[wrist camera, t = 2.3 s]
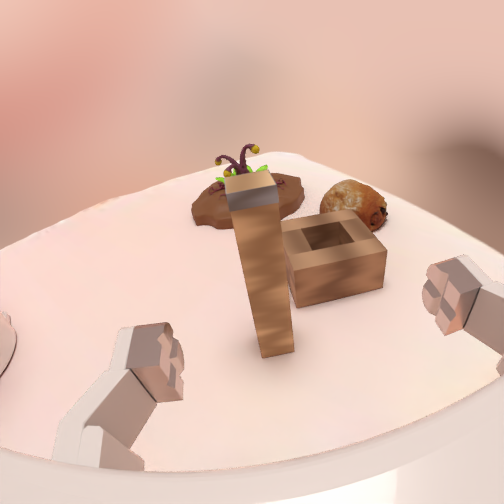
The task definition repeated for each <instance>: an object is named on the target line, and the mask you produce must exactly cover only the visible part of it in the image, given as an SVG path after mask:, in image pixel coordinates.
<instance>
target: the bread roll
mask: <svg viewBox="0 0 504 504" xmlns="http://www.w3.org/2000/svg"><path fill="white" fill-rule="evenodd" d="M384 199H385V198H384V197H382V196H381V195H380V194H379V193H378V192H376V191H375V190H373V188H371V187H370V186H368V185H363V184H362V183H359V182H357V181H355V180H351V179H348V180H344V181H341V182H339V183H337V184H335V185H334V186H333V187H332V188H331V189H330V190H329V191H328V192H327V193H326V194H325V195H324V197H323V199H322V201H321V204H320V214H323V213H329V212H334V211H340V210H346V209H351V210H352V211H353V212H354V213H355V214H356V215H357V216H358V217H359V218H360V219H361V221H362V222H363V223H364V224H365V225H366V226H367V227H368V228H369V230H370V231H374V230H376V229H378V228H379V227H380V226H381V225H382V223H383V222H384V220H385V218H386V216H387V215H388V213H387V212H386V206H387V204H386V202H385V201H384Z"/></svg>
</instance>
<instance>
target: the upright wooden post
mask: <svg viewBox="0 0 504 504" xmlns="http://www.w3.org/2000/svg"><path fill="white" fill-rule="evenodd" d="M224 183H225V191H226V197H227V202H228V207H229V212H231V217H232V222H233V227H234V231H235V236H236V241H237V245H238V250H239V255H240V259H241V264H242V269H243V273H244V278H245V283H246V287H247V292H248V296H249V301H250V305H251V310H252V315H253V319H254V324H255V328H256V333H257V337H258V341H259V346H260V350H261V355H262V358H266V357H271V356H276V355H281V354H286V353H290V352H294V342H293V331H292V321H291V310H290V301H289V291H288V281H287V272H286V263H285V254H284V246H283V237H282V229H281V221H280V213H279V205H278V203H279V198H278V190H277V184H276V182H275V181H274V179H273V177H272V175H271V174H270V172H269V170H263V171H257V172H252V173H246V174H241V175H236V176H231V177H226V178H224Z"/></svg>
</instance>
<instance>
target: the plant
mask: <svg viewBox="0 0 504 504" xmlns="http://www.w3.org/2000/svg"><path fill="white" fill-rule="evenodd" d="M247 148H249V149H250V150H251V152H252V153H255V154H257V153H259V147H258V146H256V145H255V144H248V145H245V146H244V147H243V149H242V152H241V154H240V164H238V163H237V162H236V161H235V160H234V159H232V158H231V157H228V156H226V155H221V156H219V157H217V158H216V160H215V164H216V165H220V164H221V162H222V160H221V158H226V160H229V161H230V163H232V165H230V166H229V167H227V169H225V171H224V173H223V174H224V176H225V178H226V177H231V176H236V175H241V174H246V173H252V172H253V171H252V169H251V167H250V166H248V165H246V160H245V153H246V149H247ZM232 168H234V170H233V173H232V171H231V169H232ZM267 168H268V166H267V165H265V166H262V167H260V168H259V169H258V170H257V171H263V170H267ZM257 171H256V172H257ZM270 174H271V175H272V177H273V179H274V181H275V182H276V184H277V190H278V198H279V203H278V205H279V213H280V220H282V219H283V218H284V217H286V216H288V215H290V214H292V213H294V212H295V211H296V210H297V209H298V208H299V207H300V205H301V203H302V202H303V200H304V188H303V187H302V186H301V180H300V178H299V177H293V176H289V175H284V174H279V173H270ZM216 180H218V181H217V182H215V183H213V184H212V185H211V186H209V187H208V188H207V189H205V190H204V191H203V192H202V193H201V195H200V196H199V198H198V199H197V200H196V201H195V202H194V203H193V204H192V209H191V211H192V215H193V219H194V220H195V222H196V225H197V226H200V225H210V226H213V227H215V228H216V229H232V228H234V227H233V222H232V217H231V212H229V207H228V202H227V197H226V191H225V183H224V178H222V177H219V178H216Z"/></svg>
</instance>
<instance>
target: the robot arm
mask: <svg viewBox="0 0 504 504" xmlns="http://www.w3.org/2000/svg"><path fill="white" fill-rule="evenodd" d="M426 276H427V278H428V280H427V282H426V283H425V284H424V286H423V291H422V299H423V303H424V306H425V308H426V309H427V311H428V312H429V313H431V314H433V315H435V316H436V317H435V322H436V324H437V325H438V327H439V328H440V330H441V331H442V333H443V334H444V336H446V335H448V334H451V333H454V332H456V331H459V330H461V329H464V331H466V332H468V333H469V334H471V335H472V336H474V337H475V338H477V339H478V340H480V341H481V342H483V343H484V344H486V345H487V346H489V347H490V348H492V349H493V350H495V351H496V352H498V353H499V354H500V355H502V358H501V360H500V361H499V363H498V364H497V367H496V369H497V371H498V373H499V374H500V377H499V378H497V379H496V380H494V381H492V382H491V383H489V384H487V385H486V386H484V387H482V388H481V389H479V390H477V391H475V392H474V393H472V394H470V395H468V396H466V397H465V398H463V399H461V400H459V401H457V402H455V403H453V404H451V405H449V406H447V407H445V408H443V409H441V410H439V411H437V412H435V413H432V414H430V415H428V416H426V417H424V418H421V419H419V420H417V421H414V422H412V423H410V424H407V425H405V426H402V427H400V428H397V429H394V430H392V431H389V432H386V433H384V434H381V435H378V436H375V437H372V438H369V439H366V440H363V441H360V442H357V443H354V444H350V445H347V446H344V447H340V448H336V449H333V450H329V451H325V452H321V453H317V454H313V455H309V456H304V457H300V458H295V459H290V460H285V461H279V462H273V463H267V464H261V465H254V466H247V467H238V468H229V469H218V470H204V471H178V472H157V471H144V460H143V459H142V458H141V457H140V456H138V455H137V454H135V453H134V452H133V451H131V450H130V448H131V446H132V444H133V443H134V441H135V440H136V438H137V436H138V435H139V433H140V431H141V430H142V428H143V427H144V425H145V423H146V422H147V420H148V418H149V417H150V415H151V414H152V412H153V410H154V409H155V407H156V406H157V403H160V402H170V401H179V400H183V385H184V381H183V380H182V378H181V377H180V374H181V373H182V371H183V370H184V357H183V351H182V348H181V345H180V343H179V341H178V340H177V339H175V338H173V329H172V328H171V326H170V324H169V323H167V322H164V323H156V324H147V325H139V326H134V327H124V328H121V329H120V330H119V332H118V335H117V339H116V343H115V347H114V351H113V355H112V359H111V363H110V368H109V371H104V372H103V373H102V375H101V376H100V377H99V378H98V379H97V380H96V381H95V382H94V383H93V384H92V386H91V387H90V388H89V389H88V390H87V391H86V392H85V393H84V395H83V396H82V397H81V398H80V399H79V400H78V401H77V402H76V403H75V405H74V406H73V407H72V408H71V409H70V410H69V411H68V413H67V414H66V415H65V416H64V417H63V418H62V419H61V420H60V422H59V425H58V430H57V434H56V439H55V444H54V449H53V454H52V459H51V460H49V459H44V458H40V457H35V456H31V455H27V454H23V453H20V452H16V451H13V450H9V449H6V448H3V447H0V504H504V284H502V283H500V282H497V281H495V282H493V281H492V280H491V279H490V278H489V277H488V276H487V275H486V274H485V273H484V272H483V270H482V269H481V268H480V267H479V266H478V265H477V264H476V263H475V262H474V261H473V260H472V259H471V258H470V257H469V256H467V255H464V254H463V255H460V256H457V257H454V258H451V259H448V260H445V261H441V262H438V263H435V264H431V265H430V266H429V267H428V269H427V273H426ZM15 343H16V333H15V330H14V328H13V327H12V326H11V325H10V316H9V315H8V314H7V313H6V312H2V313H1V311H0V375H1V373H2V372H3V371H4V369H5V367H6V366H7V364H8V362H9V360H10V358H11V356H12V354H13V351H14V348H15Z"/></svg>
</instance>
